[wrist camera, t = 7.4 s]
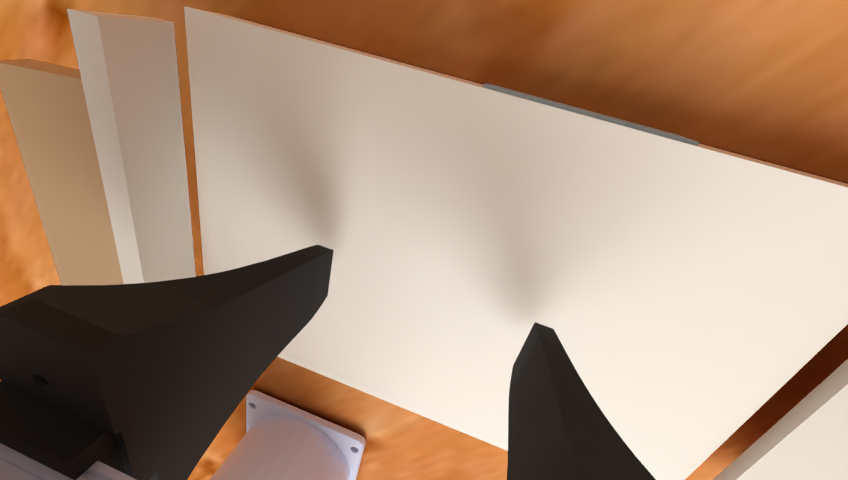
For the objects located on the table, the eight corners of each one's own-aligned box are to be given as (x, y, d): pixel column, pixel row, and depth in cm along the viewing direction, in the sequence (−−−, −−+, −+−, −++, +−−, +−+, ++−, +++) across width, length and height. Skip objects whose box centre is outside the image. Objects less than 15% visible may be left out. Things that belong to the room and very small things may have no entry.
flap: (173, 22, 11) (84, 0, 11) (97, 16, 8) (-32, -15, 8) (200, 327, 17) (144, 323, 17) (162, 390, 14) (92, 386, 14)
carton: (639, 464, 17) (652, 510, 15) (236, 305, 20) (207, 328, 18) (887, 190, 10) (962, 214, 8) (229, 12, 13) (183, 2, 11)
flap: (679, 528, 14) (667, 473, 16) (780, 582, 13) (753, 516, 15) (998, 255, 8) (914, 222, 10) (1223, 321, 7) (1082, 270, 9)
